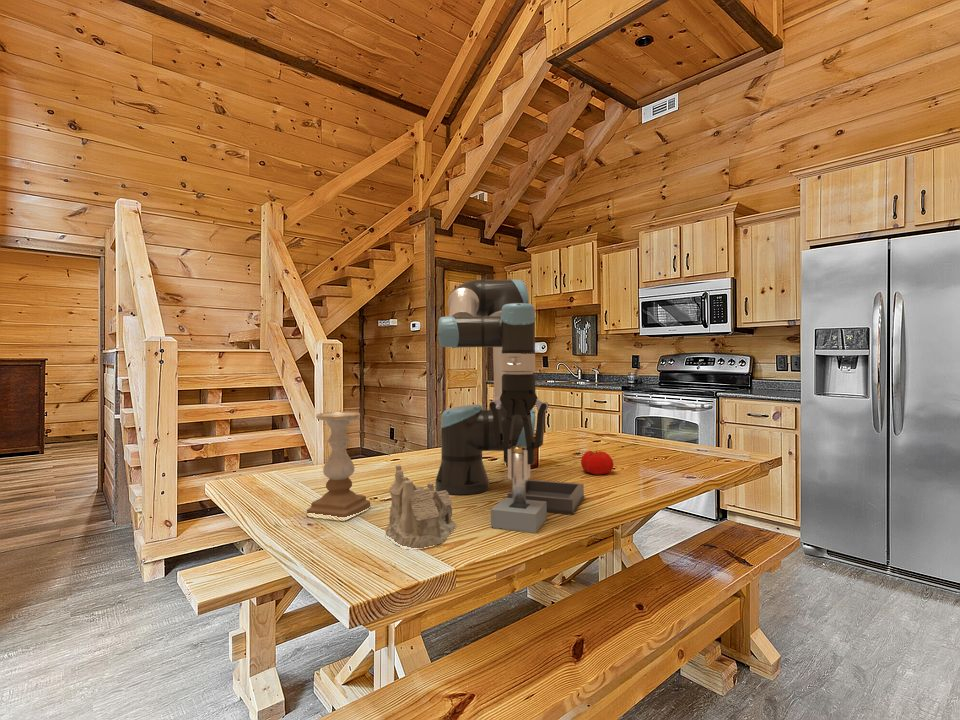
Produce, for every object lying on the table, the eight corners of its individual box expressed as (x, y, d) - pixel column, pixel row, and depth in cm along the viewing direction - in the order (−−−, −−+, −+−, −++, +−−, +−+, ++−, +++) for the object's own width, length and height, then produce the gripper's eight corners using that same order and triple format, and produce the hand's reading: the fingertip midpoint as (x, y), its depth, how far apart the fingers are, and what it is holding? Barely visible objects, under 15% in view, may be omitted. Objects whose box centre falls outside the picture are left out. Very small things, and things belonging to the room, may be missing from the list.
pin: (510, 503, 113) (510, 447, 112) (514, 500, 115) (514, 445, 115) (523, 505, 112) (523, 448, 111) (527, 501, 114) (527, 446, 114)
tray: (507, 508, 125) (507, 493, 125) (525, 491, 140) (525, 479, 140) (572, 514, 119) (572, 499, 119) (583, 497, 134) (583, 483, 134)
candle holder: (371, 508, 125) (370, 412, 125) (345, 522, 115) (344, 417, 115) (333, 504, 129) (332, 410, 129) (305, 517, 119) (304, 415, 118)
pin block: (490, 527, 110) (490, 509, 110) (505, 514, 120) (505, 497, 120) (535, 533, 107) (535, 514, 107) (546, 518, 116) (546, 501, 116)
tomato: (606, 468, 169) (606, 449, 169) (616, 476, 158) (616, 455, 158) (577, 469, 168) (577, 449, 168) (585, 477, 157) (585, 455, 157)
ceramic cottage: (399, 553, 96) (402, 473, 97) (377, 530, 111) (380, 461, 112) (473, 544, 103) (476, 470, 104) (444, 524, 118) (446, 459, 119)
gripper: (478, 373, 112) (479, 478, 113) (550, 374, 107) (550, 485, 107) (490, 372, 119) (490, 471, 120) (557, 372, 114) (558, 476, 114)
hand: (519, 477), depth 113 cm, fingers closed on pin, 3 cm apart
